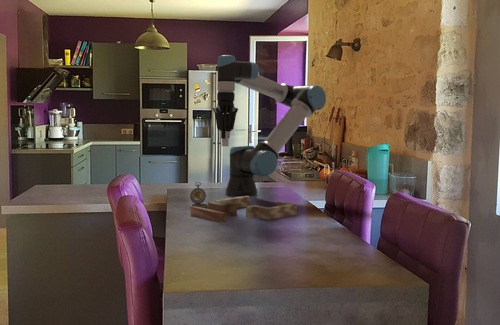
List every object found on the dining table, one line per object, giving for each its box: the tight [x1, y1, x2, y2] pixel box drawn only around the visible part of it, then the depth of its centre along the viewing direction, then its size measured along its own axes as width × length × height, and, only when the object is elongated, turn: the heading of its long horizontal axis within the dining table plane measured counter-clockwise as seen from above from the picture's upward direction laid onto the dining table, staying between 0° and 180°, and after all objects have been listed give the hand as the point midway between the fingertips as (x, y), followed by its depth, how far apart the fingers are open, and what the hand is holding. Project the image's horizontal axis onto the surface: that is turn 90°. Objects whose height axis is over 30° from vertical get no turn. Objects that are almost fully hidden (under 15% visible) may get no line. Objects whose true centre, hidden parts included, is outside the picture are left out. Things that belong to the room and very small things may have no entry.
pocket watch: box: [189, 181, 208, 209], centre depth 223 cm, size 8×8×10 cm
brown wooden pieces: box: [190, 196, 298, 223], centre depth 209 cm, size 32×27×4 cm
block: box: [207, 200, 238, 218], centre depth 207 cm, size 8×8×5 cm
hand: (225, 146), depth 236 cm, fingers closed
